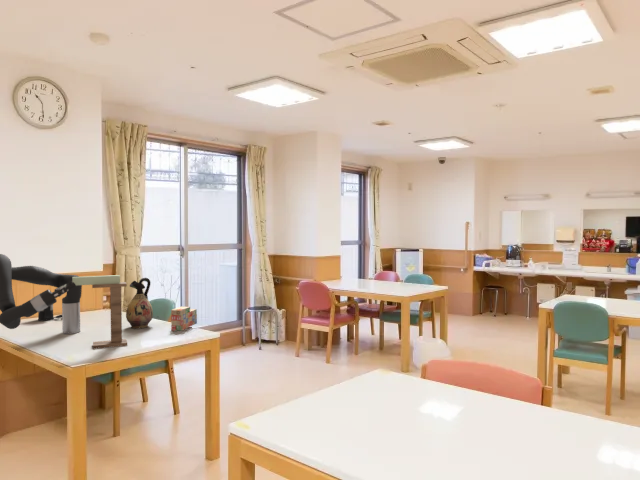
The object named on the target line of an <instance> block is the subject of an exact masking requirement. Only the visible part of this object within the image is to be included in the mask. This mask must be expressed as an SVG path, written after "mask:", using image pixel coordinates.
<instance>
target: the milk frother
mask: <svg viewBox="0 0 640 480" xmlns="http://www.w3.org/2000/svg"><path fill="white" fill-rule="evenodd" d="M37 313H38V316H37V317H38V319H37V320H38V321H43V322H44V321H52V320H54V319H62V314H59V315H56V316H54V304H52V305H51V306H49V307H47V308H45V309H44V310H41V311H39V312H37Z"/></svg>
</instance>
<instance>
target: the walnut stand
mask: <svg viewBox="0 0 640 480" xmlns="http://www.w3.org/2000/svg"><path fill="white" fill-rule="evenodd" d="M127 284H128V283H127V282H126V281H120V283H118V284H96V285H91V286H92V289H101V288H109V289H110V296H109V297H110V299H109V300H110V340H101V341H100V340H99V341H93V342H92V349H93V350H95V349H96V348H97V349H103V348H115V347H117V348H118V347H127V346H128V341H127V338H123V327H122V325H123V323H122V320H123V319H122V318H123V317H122V316H123V315H122V314H123V313H122V312H123V311H122V308H123V307H122V288H123V287H127ZM97 349H96V350H97Z"/></svg>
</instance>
